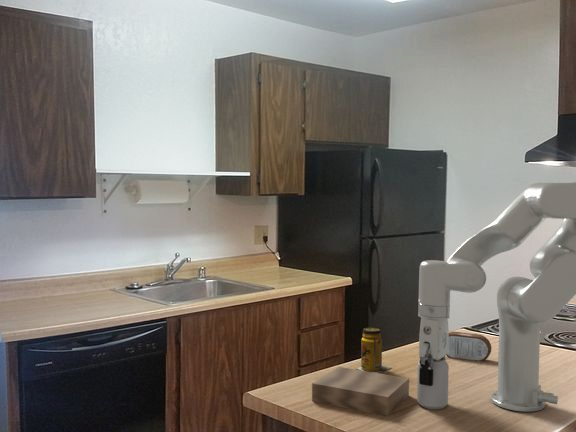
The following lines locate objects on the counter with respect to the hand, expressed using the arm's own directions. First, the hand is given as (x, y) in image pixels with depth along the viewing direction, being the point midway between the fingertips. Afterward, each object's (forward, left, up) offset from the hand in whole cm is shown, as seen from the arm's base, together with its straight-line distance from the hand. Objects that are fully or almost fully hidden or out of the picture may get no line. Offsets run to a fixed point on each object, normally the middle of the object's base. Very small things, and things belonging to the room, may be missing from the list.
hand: (432, 379), depth 149 cm
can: (0, 0, -7) cm, 7 cm away
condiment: (+24, -20, -7) cm, 32 cm away
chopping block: (+17, +5, -7) cm, 19 cm away
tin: (+3, -44, -7) cm, 45 cm away
